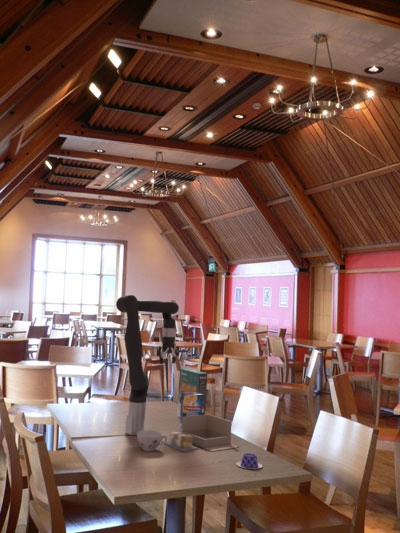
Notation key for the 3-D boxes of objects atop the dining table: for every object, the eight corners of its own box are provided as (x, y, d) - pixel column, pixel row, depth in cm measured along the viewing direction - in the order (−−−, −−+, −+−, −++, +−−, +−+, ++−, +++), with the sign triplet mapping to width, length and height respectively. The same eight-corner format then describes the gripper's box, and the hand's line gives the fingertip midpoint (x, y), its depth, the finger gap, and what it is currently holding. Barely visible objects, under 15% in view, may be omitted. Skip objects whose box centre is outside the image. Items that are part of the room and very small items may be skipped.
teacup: (137, 453, 265) (138, 436, 265) (134, 446, 277) (135, 430, 277) (168, 453, 268) (170, 436, 269) (163, 446, 280) (165, 430, 281)
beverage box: (200, 435, 309) (203, 394, 310) (181, 435, 306) (184, 394, 308) (198, 432, 315) (200, 392, 317) (179, 432, 313) (181, 392, 314)
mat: (182, 451, 273) (182, 450, 273) (161, 442, 287) (161, 441, 287) (198, 449, 279) (198, 447, 279) (177, 440, 293) (177, 439, 293)
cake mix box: (204, 423, 340) (207, 373, 342) (196, 423, 337) (199, 373, 339) (185, 415, 358) (187, 368, 360) (177, 416, 355) (180, 368, 357)
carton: (211, 451, 276) (213, 427, 276) (181, 439, 296) (182, 416, 297) (238, 447, 286) (239, 423, 287) (207, 436, 307) (208, 414, 307)
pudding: (252, 472, 247) (253, 460, 247) (230, 465, 255) (231, 454, 255) (267, 467, 256) (268, 455, 256) (246, 461, 264) (246, 449, 264)
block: (168, 442, 286) (169, 431, 287) (176, 441, 289) (177, 430, 290) (184, 448, 276) (184, 437, 276) (191, 447, 279) (192, 436, 279)
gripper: (174, 335, 336) (173, 362, 335) (155, 335, 327) (153, 363, 326) (182, 336, 330) (180, 364, 329) (162, 336, 321) (160, 364, 320)
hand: (167, 363), depth 327 cm, fingers open, 8 cm apart
